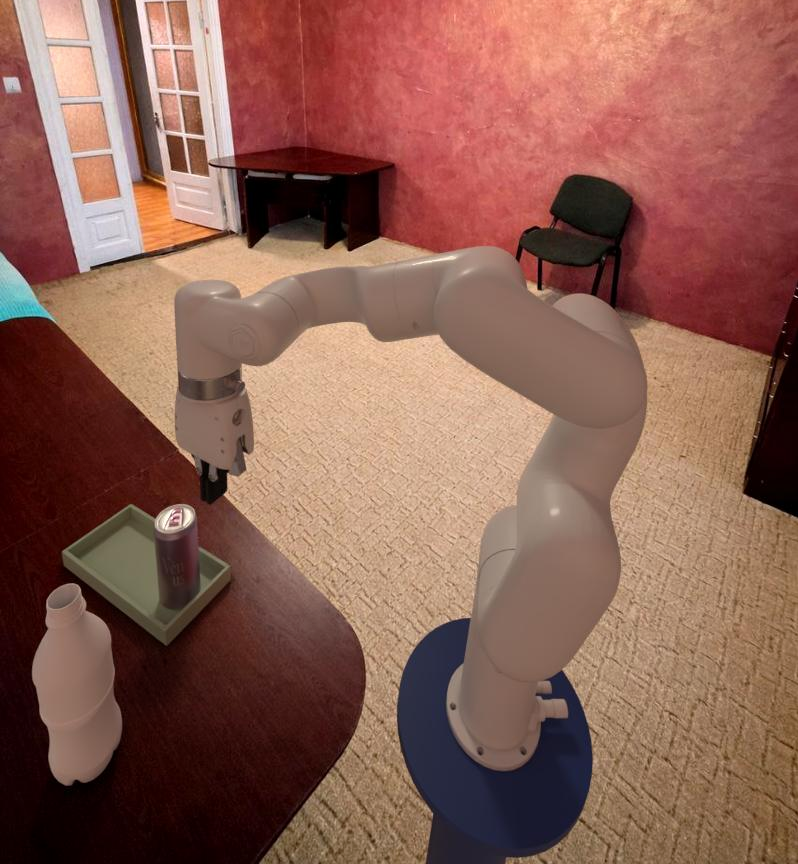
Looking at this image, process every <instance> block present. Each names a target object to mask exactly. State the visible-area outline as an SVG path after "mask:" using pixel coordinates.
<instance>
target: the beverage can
mask: <svg viewBox="0 0 798 864" xmlns="http://www.w3.org/2000/svg"><path fill="white" fill-rule="evenodd" d="M153 531H154V543H155V554H156V566H157V577H158V589H159V600H160V603H161V604H162V605H163V606H164V607H166V608H167V609H171V610H178V609H181V608H184V607H185V606H186V605H187V604H188V603H189V602H190V601H191V600H192V599H193V598H195V597H196V596H197V595H198V593H199V591H200V587H201V582H200V564H199V547H200V545H199V531H198V517H197V514H196V509H194V507H193V506H191V505H189V504H186V503H180V504H177V503H176V504H173V505H170V506H168V507H166V508H164V509H163V510H161V511H160V512H159V513H158V514H157V515H156V517H155V523H154V529H153Z"/></svg>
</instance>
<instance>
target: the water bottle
mask: <svg viewBox="0 0 798 864" xmlns="http://www.w3.org/2000/svg"><path fill="white" fill-rule="evenodd" d="M45 609H46V616H45V625H46V627H47V630H46V632H45V634H44V636H43V637H42V639H41V640H40V643H39V645H38V647H37V649H36V651H35V655H34V658H33V661H32V668H31V678H32V679H31V680H32V682H33V685H34V686H35V689H36V695H37V700H38V705H39V716H40V718H41V720H42V722H43V723H44V725H45V726H46V727H47V731H48V737H49V747H48V755H47V757H48V764H49V768H50V771H51V774H52V776H53V777H54V778H55V779H56V780H57V782H58V783H60V784H61V785H64V786H67V787H68V786H73V784H74V782H75V781H76V780H77V781H79V782H80V783H83V784H84V783H86V784H87V783H88V782H92V781H94V780H95V779H97V778H98V777H99V776H100V775H101V774H102V773H103V772H104V771H105V769H106V768H107V766H108V764H109V763H110V761H111V759H112V757H113V754H114V751H115V750H116V749H118V746H119V744H120V742H121V738H122V733H123V717H122V712H121V708H120V705H119V704H118V702H117V701H116V698H115V693H114V682H115V673H116V671H115V670H116V668H115V664H114V659H113V651H112V635H111V630H110V629H109V627H108V625H107V623H105V621H104V620H103V619H102V618H100V617H99V616H98V615H95V614H94V613H92V612H90V611H88V610H86V609H87V601H86V600H85V598H84V596H83V595H82V589H81V587H80V585H79V584H76V583H66V584H63V585H60V586H58V587H57V588H56V589H54V590H52V592H51V593H50V594H49V596H48V597H47V599H46V606H45Z"/></svg>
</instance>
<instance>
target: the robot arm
mask: <svg viewBox="0 0 798 864" xmlns="http://www.w3.org/2000/svg"><path fill="white" fill-rule="evenodd" d="M525 275H526V274H525V273H524V270H523V268H522V266H521V265H520V262H519V261H518V260H517V258H515V256H514V255H512V253H510V252H509V251H507V250H505V249H503V248H501V247H498V246H494V245H478V246H472V247H465V248H461V249H455V250H449V251H445V252H439V253H434V254H429V255H425V256H419V257H414V258H410V259H404V260H399V261H393V262H389V263H382V264H377V265H372V266H369V265H368V266H366V265H357V266H333V267H327V268H322V269H317V270H311V271H306V272H301V273H297V274H291V275H288V276H284V277H281V278H278V279H276V280H274V281H273V282H271V283H269V284H268V285H266V286H263V287H262V288H261V289H259V290H258V291H256V292H255V293H252V294H250V295H248V296H245V297H242V293H241V292H240V289H239V288H238V287H237V286H236V285H235V284H233V283H232V282H229V281H226V280H222V279H221V280H220V279H200V280H195V281H191V282H188V283H185V284H184V285H182V286H181V287H179V288H178V290H177V291H176V293H175V295H174V301H173V303H174V305H173V307H174V308H173V309H174V322H175V323H174V329H175V345H176V346H175V347H176V364H177V365H176V366H177V387H176V393H175V403H174V434H175V440H176V443H177V445H178V446H179V448H181V449H182V450H183V451H185V452H187V453H189V454H190V455H191V457H192V459H193V461H194V467H195V471H196V473H197V474H198V475H199V490H200V492H199V494H200V500H201V501H202V502H205V503H206V504H207V505H209V506H211V505H213V504H214V503H215V502H216V501H218V499H220V498H222V496H224V495H225V494H226V493H227V492H228V475H231V476H233V477H240V476H241V475H242V474H244V473H245V472H247V465H246V459H245V455H244V454H246V455H248V456H250V455H251V454H252V453H254V449H255V434H254V421H253V413H252V407H251V401H250V397H249V396H250V395H249V393H248V390H247V388H246V382H244V380H243V365H246V366H251V367H263V366H267V365H269V364H271V363H273V362H274V361H275V360H277V359H278V358H279V357H280V356H281V355H282V354H283V353H284V352H285V351H286V350H287V349H288V348H289V347H291V345H292V344H293V343H294V342H295V341H296V340H297V339H298V338H299V337H300V336H301V335H302V334H303V333H304V332H306V331H307V330H308V329H312V328H317V327H321V326H327V325H332V324H338V323H340V324H341V323H358V324H361V325H364V326H365V327H366V329H367V331H368V333H369V334H370V336H371V337H372V338H373V339H375V340H376V341H378V342H381V343H394V342H399V341H405V340H412V339H418V338H426V337H431V336H439V337H440V339H441V340H442V342H443V343H444V344H445V345H446V346H447V347H448V349H450V350H451V351H452V352H453V353H454V354H455V355H457V356H458V357H460V358H461V359H463V361H465V362H466V363H468V364H470V365H471V366H473V367H475V369H477V370H479V371H480V372H482V373H483V374H485V375H487V376H488V377H490V378H491V379H493V380H495V381H497V382H498V383H500V384H502V385H503V386H505V387H506V388H508V389H510V390H512V391H513V392H515V393H517V394H518V395H520V396H522V397H523V398H526V399H527V400H528V401H530V402H531V403H533V404H535V405H537V406H538V407H541V409H544V410H546V411H547V412H548V413H550V414H552V416H551V418H550V421H549V424H548V425H547V427H546V429H545V431H544V433H543V435H542V437H541V438H540V440H539V442H538V443H537V446H536V447H535V449H534V451H533V453H532V455H531V456H530V458H529V460H528V462H527V463H526V465H525V467H524V469H523V470H522V472H521V475H520V477H519V480H518V483H517V489H516V504H514V505H508V506H505V507H503V508H501V509H499V510H498V511H496V512H495V513H494V514H493V515H491V517H490V518H489V520H488V521H487V522H486V524H485V525H484V529H483V531H482V533H481V534H482V535H481V539H480V545H479V552H478V553H479V554H478V555H479V556H478V562H477V563H478V564H477V572H476V579H475V587H474V596H473V602H472V609H471V614H470V618H471V620H470V626H469V633H468V639H467V645H466V652H465V658H464V663H463V664H462V665H461V666H460V667H459V668H458V669H457V670H456V671H455V673H454V674H453V676H452V677H451V680H450V683H449V686H448V691H447V699H446V709H447V716H448V720H449V725H450V727H451V730H452V732H453V734H454V736H455V738H456V740H457V741H458V743H459V745H460V746H461V747H462V748H463V750H464V751H465V752H466V753H467V754H468V755H469V756H470V757H471V758H472V759H473V760H475V761H476V762H478V763H479V764H481V765H483V766H484V767H487V768H490V769H493V770H497V771H510V770H514V769H517V768H519V767H521V766H523V765H524V764H525V763H526V762H528V761H529V759H530V758H531V757H532V755H533V754H534V752H535V750H536V747H537V745H538V741H539V737H540V730H541V722H544V721H545V718H568V708H567V704H566V702H565V700H564V699H551V700H542V698H541V696H535V694H536V693H542V694H551V693H552V687H551V683H550V681H542V680H545V679H548V678H550V677H552V676H554V675H555V674H557V673H558V672H560V671H561V670H564V668H566V666H568V664H569V663H570V662H571V661H572V660H573V658H574V657H575V656H576V654H577V653H578V652H579V651H580V649H581V647H582V646H583V644H584V643H585V642H586V640H587V639H588V637H589V636H590V635H591V633H592V632H593V630H594V629H595V628H596V626H597V625H598V623H599V622H600V620H601V619H602V617H604V614H605V613H606V611H607V610H608V608H609V607H610V605H611V604H612V602H613V600H614V598H615V596H616V594H617V591H618V588H619V585H620V581H621V574H622V573H621V572H622V556H621V550H620V545H619V542H618V537H617V534H616V530H615V526H614V522H613V517H612V511H611V499H612V495H613V493H614V491H615V489H616V486H617V484H618V483H619V481H620V479H621V478H622V475H623V474H624V472H625V469H626V468H627V466H628V464H629V462H630V461H631V458H632V457H633V455H634V452H636V451H635V450H636V448H637V446H638V444H639V441H640V439H641V437H642V434H643V430H644V427H645V422H646V417H647V408H648V376H647V372H646V369H645V365H644V361H643V357H642V354H641V351H640V348H639V345H638V343H637V341H636V339H635V337H634V335H633V333H632V331H631V329H630V328H629V327H628V325H627V324H626V322H625V321H624V319H623V318H622V317H621V315H619V313H618V312H617V311H616V310H615V308H613V307H612V306H611V305H609V304H608V303H607V302H606V301H604V300H603V299H600V298H599V297H597V296H595V295H592V294H588V293H579V292H577V293H571V294H568V295H565V296H563V297H561V298H559V299H558V300H556V301H555V302H554V303H553V304H552V305H551V303H548V302H546V301H545V300H544V299H541V297H539V296H537V295H536V294H535V293H533V292H531V291H530V290H529V288H528V283H527V279H526V276H525ZM451 709H453V710H451ZM521 753H523V754H524V755H522V754H521ZM479 754H481V755H479Z"/></svg>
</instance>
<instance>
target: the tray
mask: <svg viewBox="0 0 798 864" xmlns="http://www.w3.org/2000/svg"><path fill="white" fill-rule="evenodd" d="M155 519H156V517H153V516H151V514H149V513H147V512H146V511H144V510H142V509H140V508H139V507H137V506H135V505H134V504H132V503H130V504H128V505H127V506H126V507H124V508H123V509H121V510H120V511H119V512H117V513H116V514H113V516H111V517H110V518H108V519H107V520H105V521H104V522H102V523H101V524H100V525H97V526H96V527H95V528H94V529H92V530H91V531H90V532H88V533H86V534H85V535H83V536H82V537H81V538H79V539H78V540H77V541H75V542H73V543H72V544H71V545H68V547H66V548H65V549H63V550H62V551H61V556H62V563H63V567H64V568H66V569H68V570H69V571H70V572H71V573H72V574H74V576H77V578H79V579H80V580H81V581H83V582H84V583H85V584H87V585H88V586H89V587H91V588H92V590H94V591H95V592H97V593H98V594H99V595H101V596H102V597H103V598H104V599H105V600H107V601H108V602H110V603H111V604H112V605H113V606H115V607H116V608H117V609H119V610H120V611H121V612H122V613H124V614H125V615H126V616H127V617H129V618H130V619H131V620H132V621H134V622H135V623H137V625H139V626H140V627H141V628H142V629H144V630H145V631H146V632H148V633H149V634H150V635H152V636H153V637H154V638H155V639H157V640H158V641H159V642H160V643H162V644H163V645H164V646H166V647H167V646H169V645H170V643H172V641H173V640H174V639H175V638H176V637H177V636H178V635H179V634H180V633H181V632H182V631H183V630H184V629H185V628H186V627H187V626H188V625H189V624H190V623H191V622H192V621H193V620H194V619H195V618H196V617H197V616H198V615H199V613H201V611H203V609H205V608H206V606H207V605H208V604H209V603H210V602H211V601H213V600H214V598H215V597H216V596H217V595H218V594H219V593H220V592H221V591H222V590H223V589H224V588H225V587H226V586H227V584H228V583H230V581H231V580H232V573H231V572H232V571H231V570H232V569H231V567H232V566H231V565H229V563H227V562H225V561H224V560H222V559H221V558H218V557H217V556H215V555H214V554H212V553H211V552H209V551H208V550H206V549H204V548H203V547H202V546H199V564H200V582H201V587H200V591H199V593H198V595H197V596H196V597H195V598H193V599H192V600H191V601H190V602H189V603H188V604H187V605H186V606H185V607H184V608H181V609H178V610H171V609H167V608H166V607H164V606H163V605H162V604H161V603H160V600H159V589H158V577H157V566H156V554H155V543H154V531H153V529H154V523H155Z"/></svg>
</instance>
